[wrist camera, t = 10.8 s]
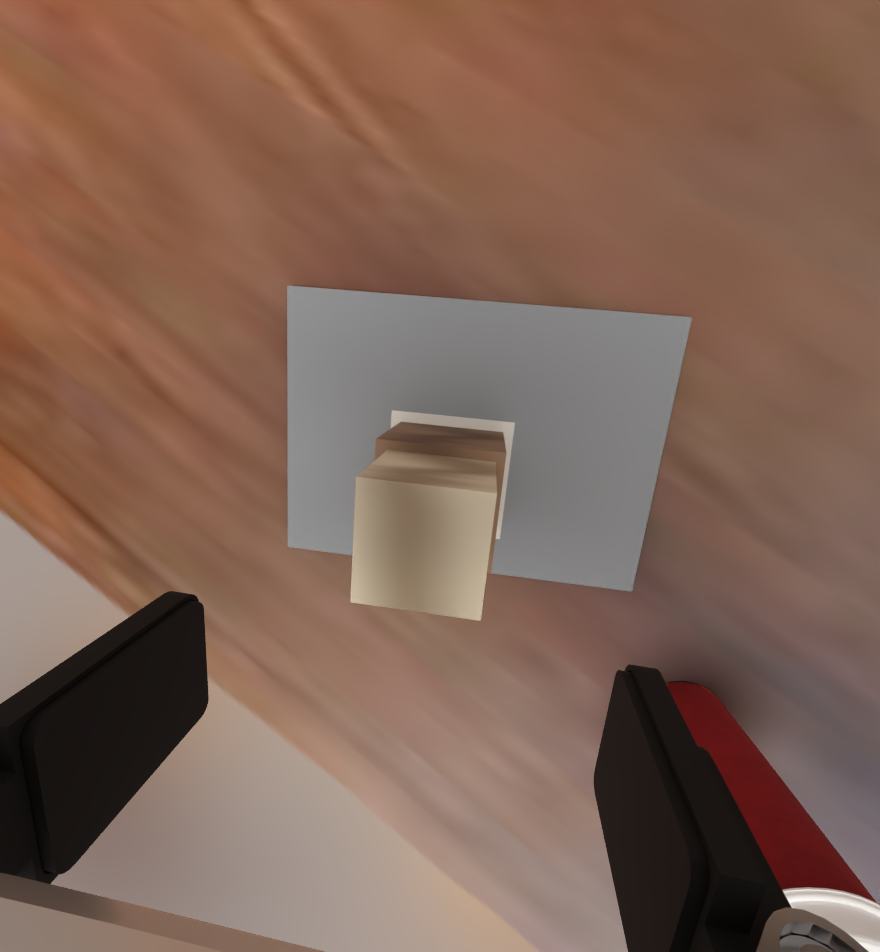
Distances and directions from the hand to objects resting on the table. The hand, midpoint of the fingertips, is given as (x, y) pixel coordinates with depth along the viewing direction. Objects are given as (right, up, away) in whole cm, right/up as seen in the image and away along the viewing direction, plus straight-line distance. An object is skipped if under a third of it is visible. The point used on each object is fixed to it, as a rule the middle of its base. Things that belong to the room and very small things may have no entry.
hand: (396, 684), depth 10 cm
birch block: (+1, +3, +11) cm, 12 cm away
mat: (+3, +7, +17) cm, 19 cm away
